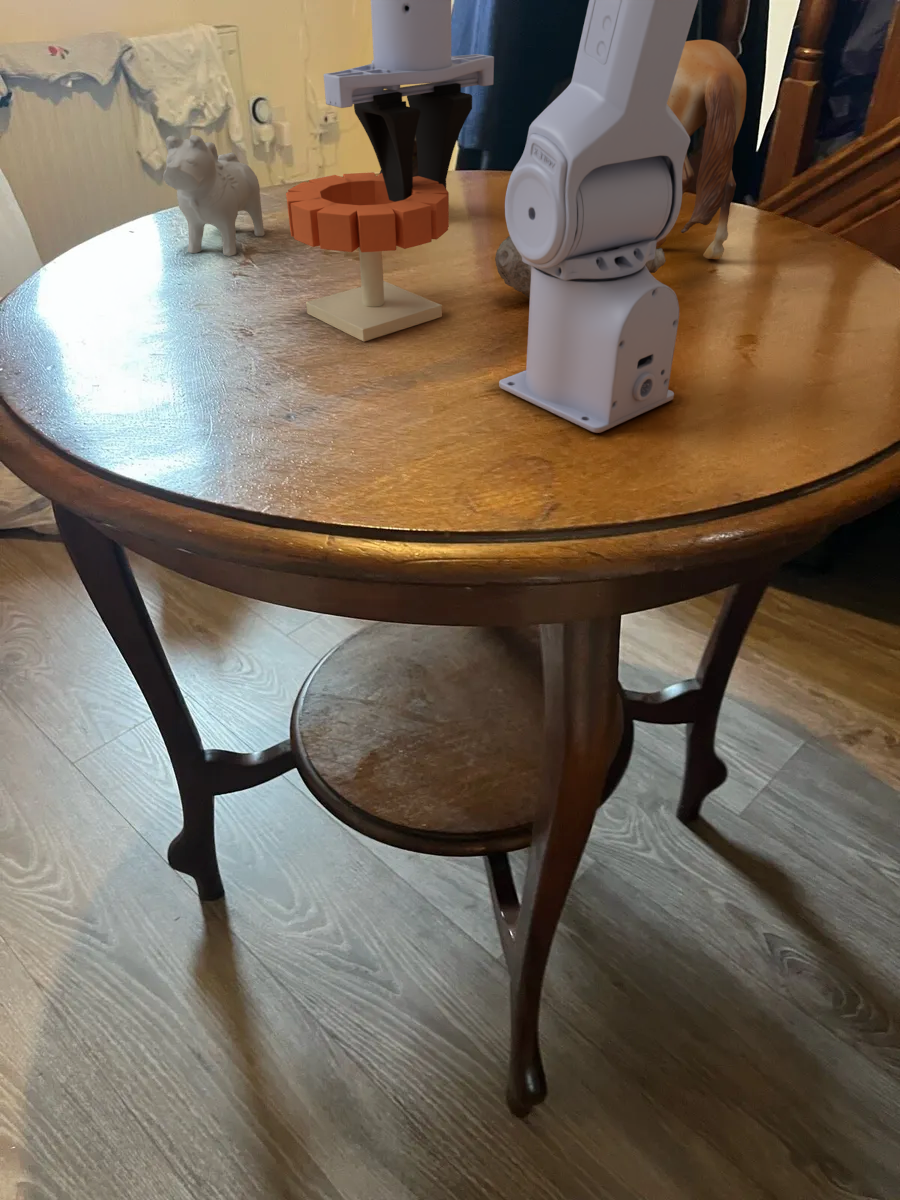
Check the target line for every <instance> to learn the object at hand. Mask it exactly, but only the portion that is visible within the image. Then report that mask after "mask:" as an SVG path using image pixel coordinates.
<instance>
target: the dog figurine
mask: <svg viewBox="0 0 900 1200" xmlns="http://www.w3.org/2000/svg"><path fill="white" fill-rule="evenodd" d="M164 140H165V148H166V151H167V156H166V160H165V164H166V167H165V170H164V171H163V174H162V177H163V181H164V182H165V184H166V185H167V186H168V187H170V188H173V189H174V190H176V199H177V204H178V208H179V209H180V211H181V213H182V215H183V216H184V217H185V220H186V222H187V228H188V229H187V230H188V231H187V232H188V245H187V252H188V253H190V254H197V253H200V252H201V251H202V243H203V242H202V241H203V237H204V231H205V225H211V226H213V227H215V228H216V229H217V230H218V232H219V234H220V236H221V240H222V254H223V256H228V257H229V256H230V257H231V256H232V257H233V256H235V255H237V237H236V236H237V235H236V231H237V230H236V220H237V218H238V216H239V212H246V213H247V214H248V215H249V216H250V219H251V221H252V223H253V227H254V228H253V230H254V231H253V232H254V236H255V237H263V236H265V235H266V233H265V228H264V220H263V212H262V211H263V210H262V202H261V201H262V200H261V188H260V183H259V178H258V176H257V174H256V173H255V172H254V170H253V169H252V168H251V167H250V165H248V164H247V163H244V162H240V160H239V158H238V156H237V155H236V153H235V152H232V151H230V152H228V153H223V154H218V150H217V146H216V144H215V143H214V142H211V141H204V139H203V138H202V137H201V136H199V135H195V134H191V135H190V136H189V138H186V139H181V138H180V137H177V136H173V135H169V136H167V137H166V138H165V139H164Z"/></svg>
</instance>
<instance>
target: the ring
mask: <svg viewBox="0 0 900 1200" xmlns="http://www.w3.org/2000/svg"><path fill="white" fill-rule="evenodd" d="M285 197H286V206H287V215H288V223H289V231H290V237H291V238H294V240H295V241H298V242H300V243H302V244H305V245H306V246H310V247H312V248H316V247H319V248H320V250H327V251H335V252H336V251H337V252H345V253H353V252H355V251H356V250H357V249H359V247H360V250H361V252H377V251H382V252H390V251H397V247H398V248H400V249H404V250H406V249H411V248H413V247H417V246H421V245H426V244H430V243H432V240H435V241H437V240H438V239H440V238H441V237H442V236H443V235H444V234H445V233H447V232H448V231H449V228H450V216H449V214H450V193H449V191H448V190H447V187H446V188H445V187H444V185H443V184H439V182H437V181H434V180H430V179H427V178H424V177H420V176H416V177H413V188H412V195H411V196H410V197H408V198H407V199H405V200H401V201H396V202H394V201H391V200H389V197H388V193H387V189H386V185H385V182H384V178H383V175H382V173H381V174H379V173H378V175H376V172H374V171H371V172H354V173H343V174H342V176H340V175H338V174H332V175H327V176H322V177H317V178H313V179H309V180H308V182H307V181H302V182H300V183H298V184H297V185H295V186H293V187H291V188H289V189H287V191H286V192H285Z"/></svg>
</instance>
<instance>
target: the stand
mask: <svg viewBox="0 0 900 1200" xmlns="http://www.w3.org/2000/svg"><path fill="white" fill-rule="evenodd" d="M358 257H359V270H360V271H359V272H360V284H361V285H360V286H358V287H355V288H351V289H346V290H344V291H343V290H342V291H340V292H337V293H336V292H335V293H333V294H330V295H325V296H322V297H319V298H315V299H312V300H308V301H306V302H305V305H306V307H305V308H306V314H307V315H309V316H311V317H313V318H315V319H317V320H319V321H320V322H323V323H325V324H327V325H330V326H331V327H333V328H336V329H338V330H339V331H341V332H343V333H345V334H348V335H349V336H352V337H353V338H356V339H357V340H359V341H362V342H364V343H365V342H367V341H371V340H373V339H377V338H380V337H384V336H386V335H390V334H393V333H395V332H399V331H402V330H405V329H408V328H411V327H414V326H417V325H420V324H424V323H427V322H430V321H433V320H436V319H440V318H442V317H443V305H442V304H440V303H438V302H435V301H433V300H431V299H428V298H426V297H424V296H421V295H419V294H416V293H414V292H412V291H409V290H407V289H404V288H402V287H400V286H398V285H395V284H393V283H391V282H388V281H386V280H384V267H383V265H384V263H383V251H377V252H361V250H360V247H359V248H358Z"/></svg>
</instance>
